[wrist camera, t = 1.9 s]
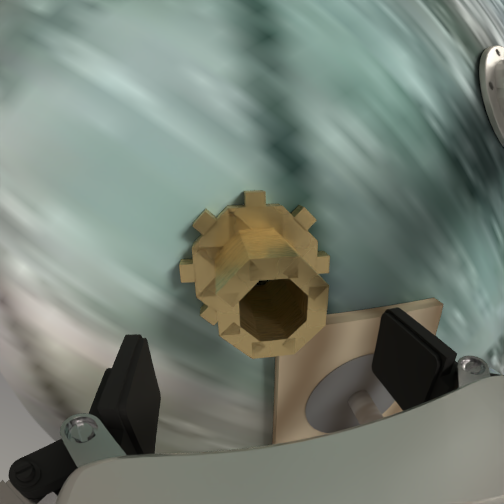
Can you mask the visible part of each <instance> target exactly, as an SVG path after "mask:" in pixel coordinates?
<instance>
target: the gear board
mask: <svg viewBox="0 0 504 504" xmlns="http://www.w3.org/2000/svg"><path fill="white" fill-rule="evenodd" d="M396 307H399V308H401V309H402V310H403V311H404V312H406V313H407V314H408V315H410V316H411V317H412V318H413V319H415V320H416V321H417V322H419V323H420V324H421V325H422V326H424V327H425V328H426V329H427V330H429V331H430V332H431V333H432V334H434V335H436V331H437V328H438V324H439V320H440V317H441V313H442V308H443V304H442V303H441V302H439V301H438V300H437V299H435V298H430V299H424V300H419V301H413V302H408V303H402V304H396V305H390V306H384V307H377V308H371V309H364V310H357V311H350V312H343V313H335V314H327V315H326V325H325V326H324V327H323V328H322V329H321V330H320V331H319V332H318V333H317V334H316V335H315V336H314V337H313V338H312V339H311V340H310V341H308V342H307V343H306V344H305V345H304V346H303V347H302V348H301V349H300V350H299V351H297V352H296V353H295V354H292V355H284V356H275V384H274V415H273V441H272V445H273V444H279V443H285V442H290V441H296V440H301V439H306V438H311V437H315V436H320V435H324V434H328V433H332V432H336V431H340V430H344V429H348V428H351V427H355V426H358V425H362V424H365V423H368V422H372V421H375V420H378V419H381V418H384V417H387V416H390V415H393V414H396V413H399V412H401V411H403V410H402V409H401V408H400V406H399V405H398V404H397V402H396V401H395V400H394V399H393V397H392V396H391V395H390V393H389V392H388V391H387V390H386V388H385V387H384V386H383V385H382V383H381V382H380V381H379V380H378V378H377V377H376V376H375V374H374V373H373V371H372V361H373V356H374V351H375V347H376V342H377V337H378V331H379V326H380V320H381V316H382V314H383V313H384V312H385V310H387V309H391V308H396Z"/></svg>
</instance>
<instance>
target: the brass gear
mask: <svg viewBox="0 0 504 504" xmlns="http://www.w3.org/2000/svg"><path fill="white" fill-rule="evenodd" d="M316 221H317V220H316V219H315V218H314V217H313V216H312V215H311V214H310V213H309V212H308V211H307V210H306V209H305V208H304V207H303V206H301V205H298V206H297V207H296V208H295V210H294V211H293V212H292V213H291V214H290V213H289V212H288V211H287V210H286V209H285V208H284V207H283V206H282V205H280V204H266V200H265V191H263V190H254V191H244V205H227V207H226V208H225V209H224V210H223V211H222V212H221V213H220V214H219V215H218V216H217V217H215V216H214V215H213V214H212V213H211V212H209V211H208V210H207V209H205V210H204V211H203V212H202V213H201V214H200V215H199V217H198V218H197V219H196V220H195V221H194V222H193V225H192V226H193V227H194V228H195V229H196V230H197V231H199V232H200V233H201V235H200V236H199V237H198V238H197V239H196V240H195V242H194V243H193V246H192V255H193V259H181V261H180V264H179V269H180V278H181V283H187V282H195V289H196V297H197V298H198V299H199V300H201V301H202V302H203V303H204V305H203V306H202V307H201V309H200V316H201V317H203V318H204V319H205V320H207V321H208V322H209V323H211V324H212V325H213V326H214V325H215V324H216V323H217V322H218V328H219V336H220V337H222V338H223V339H225V340H226V341H227V342H229V343H230V344H232V345H233V346H234V347H236V348H237V349H239V350H240V351H242V352H243V353H245V354H246V355H247V356H249V357H250V358H252V359H255V358H265V357H275V356H284V355H292V354H295V353H296V352H297V351H299V350H300V349H301V348H302V347H303V346H304V345H305V344H306V343H307V342H308V341H310V340H311V339H312V338H313V337H314V336H315V335H316V334H317V333H318V332H319V331H320V330H321V329H322V328H323V327H324V326H325V325H326V315H327V304H328V292H329V285H328V284H327V283H326V282H325V281H324V280H323V278H322V277H321V276H320V275H319V274H323V273H329V261H330V256H329V255H328V254H327V253H325V252H324V251H317V249H318V241H317V240H316V239H315V238H314V237H313V236H312V235H311V234H310V233H309V232H308V231H307V230H308V229H309V228H310V227H311V226H312V225H313V224H314V223H315V222H316ZM260 280H269V281H268V282H267V283H266V284H265V285H256V284H257V283H258V282H259V281H260Z"/></svg>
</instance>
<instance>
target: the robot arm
mask: <svg viewBox="0 0 504 504" xmlns="http://www.w3.org/2000/svg"><path fill="white" fill-rule="evenodd" d="M479 78H480V87H481V92H482V97H483V101H484V105H485V108H486V112H487V115H488V117H489V120H490V123H491V125H492V127H493V130H494V132H495V134H496V136H497V137H498V139H499V141H500V143H501V144H502V145H503V147H504V47H502V46H498V45H497V46H492V47H489V48H486V49H485V50H484V52H483V53H482V56H481V58H480V65H479ZM456 356H457V353H456V352H455V351H453V350H452V349H451V348H450V347H448V346H447V345H446V344H445V343H444V342H442V341H441V340H440V339H439V338H437V337H436V336H435V335H434V334H432V333H431V332H430V331H429V330H427V329H426V328H425V327H424V326H422V325H421V324H420V323H419V322H417V321H416V320H415V319H413V318H412V317H411V316H410V315H408V314H407V313H406V312H404V311H403V310H402V309H401V308H399V307H396V308H391V309H387V310H385V312H384V313H383V314H382V316H381V320H380V326H379V331H378V337H377V342H376V347H375V351H374V356H373V361H372V371H373V373H374V374H375V376H376V377H377V378H378V380H379V381H380V382H381V383H382V385H383V386H384V387H385V388H386V390H387V391H388V392H389V393H390V395H391V396H392V397H393V399H394V400H395V401H396V402H397V404H398V405H399V406H400V408H401V409H402V410H403V411H401V412H399V413H396V414H393V415H390V416H387V417H384V418H381V419H378V420H375V421H372V422H368V423H365V424H362V425H358V426H355V427H351V428H348V429H344V430H340V431H336V432H332V433H328V434H324V435H320V436H315V437H311V438H306V439H301V440H296V441H290V442H285V443H279V444H273V445H266V446H259V447H252V448H243V449H234V450H222V451H210V452H193V453H165V454H154V451H155V442H156V433H157V424H158V416H159V408H160V400H161V397H160V391H159V387H158V383H157V379H156V376H155V372H154V368H153V363H152V359H151V355H150V351H149V346H148V342H147V339H146V338H142V336H141V335H126V336H125V337H124V340H123V342H122V345H121V347H120V349H119V352H118V354H117V357H116V359H115V362H114V364H113V367H112V368H108V369H106V371H105V373H104V376H103V378H102V381H101V383H100V386H99V388H98V391H97V393H96V396H95V398H94V401H93V404H92V406H91V409H90V412H89V414H86V413H83V414H76V415H73V416H71V417H69V418H68V419H66V420H65V421H64V422H63V424H62V426H61V428H60V435H61V438H62V439H60V440H58V441H56V442H54V443H52V444H50V445H48V446H46V447H44V448H42V449H39V450H38V451H35V452H33V453H31V454H29V455H27V456H24V457H22V458H20V459H19V460H17V461H15V462H14V463H13V464H12V465H11V467H10V470H9V479H10V480H8V481H7V482H6V483H5V482H4V481H3V480H2V481H1V482H0V504H504V375H499V374H493V373H490V371H489V367H488V365H487V363H486V362H485V361H484V360H482V359H481V358H478V357H475V356H464V357H462V358H460V359H459V360H458V363H457V362H456V361H455V359H456Z"/></svg>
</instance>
